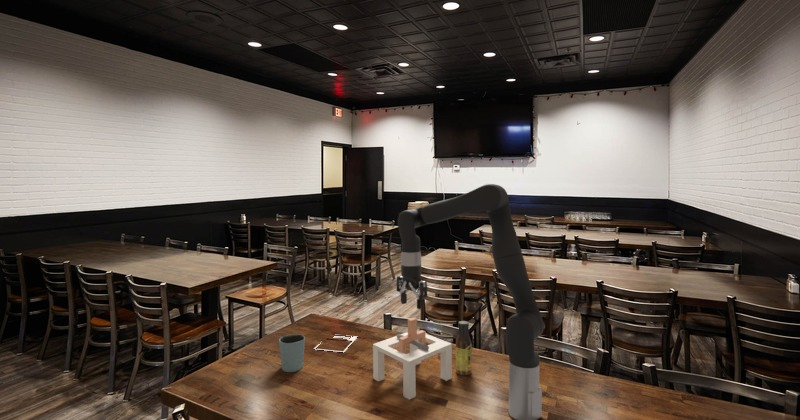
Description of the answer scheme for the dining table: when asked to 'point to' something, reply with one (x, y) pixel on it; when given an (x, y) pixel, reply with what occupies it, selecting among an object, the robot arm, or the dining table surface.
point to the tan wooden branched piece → (411, 339)
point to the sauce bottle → (463, 350)
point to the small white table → (412, 359)
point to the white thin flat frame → (343, 338)
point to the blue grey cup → (292, 352)
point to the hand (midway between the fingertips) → (411, 306)
